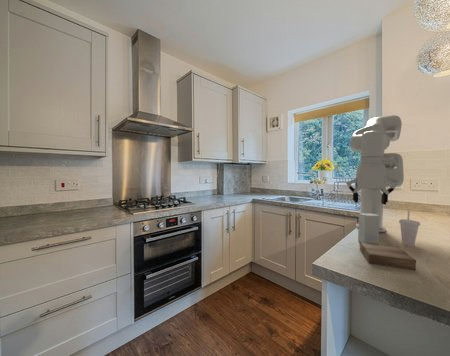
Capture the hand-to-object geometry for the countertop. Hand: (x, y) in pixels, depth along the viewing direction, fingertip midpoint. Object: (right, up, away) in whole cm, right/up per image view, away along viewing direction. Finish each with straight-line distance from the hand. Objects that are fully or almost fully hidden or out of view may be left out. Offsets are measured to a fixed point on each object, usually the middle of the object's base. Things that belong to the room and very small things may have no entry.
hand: (369, 203), depth 84 cm
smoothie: (+16, -17, 0) cm, 23 cm away
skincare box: (0, -17, +1) cm, 17 cm away
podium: (-5, -18, -14) cm, 23 cm away
